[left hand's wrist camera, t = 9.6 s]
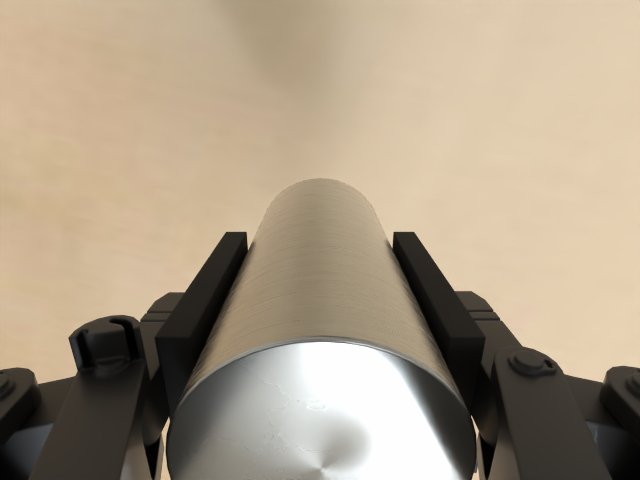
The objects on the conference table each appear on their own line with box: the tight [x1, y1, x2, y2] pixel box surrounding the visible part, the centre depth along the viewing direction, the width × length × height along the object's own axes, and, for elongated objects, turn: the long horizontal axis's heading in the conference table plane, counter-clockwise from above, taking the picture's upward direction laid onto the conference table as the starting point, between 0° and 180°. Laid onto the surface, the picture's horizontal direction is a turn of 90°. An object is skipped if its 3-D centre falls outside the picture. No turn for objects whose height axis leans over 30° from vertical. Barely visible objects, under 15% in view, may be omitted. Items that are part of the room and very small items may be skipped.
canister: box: [166, 178, 477, 480], centre depth 12 cm, size 6×6×12 cm
